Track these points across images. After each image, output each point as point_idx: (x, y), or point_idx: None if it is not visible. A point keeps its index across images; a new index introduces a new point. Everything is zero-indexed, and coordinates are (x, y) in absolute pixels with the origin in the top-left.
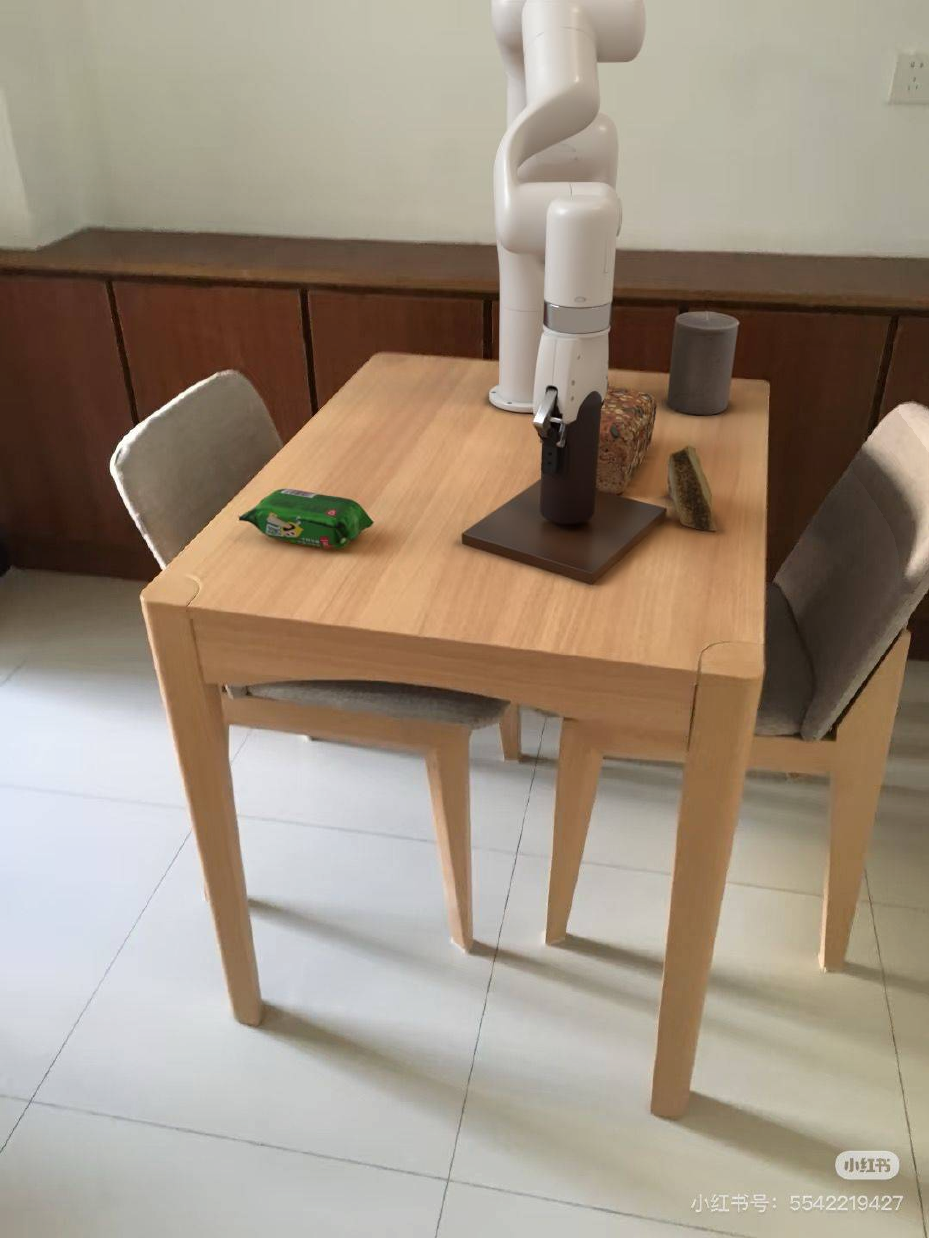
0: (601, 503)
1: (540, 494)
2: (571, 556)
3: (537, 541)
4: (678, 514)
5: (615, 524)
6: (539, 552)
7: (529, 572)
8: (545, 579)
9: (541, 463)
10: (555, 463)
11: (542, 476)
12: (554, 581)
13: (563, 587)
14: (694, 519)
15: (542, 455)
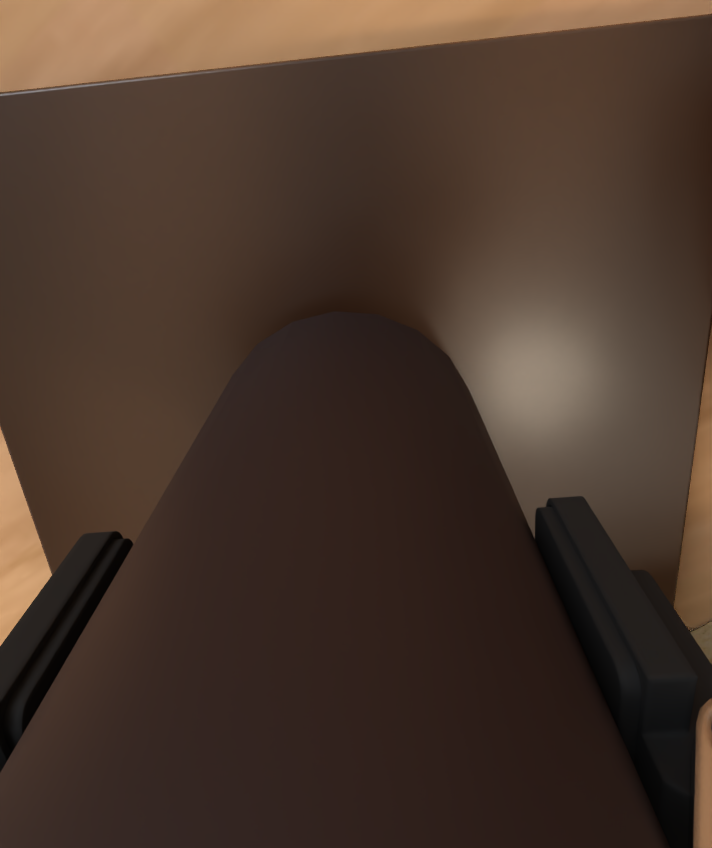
0: (578, 443)
1: (240, 374)
2: None
3: (111, 432)
4: (697, 631)
5: None
6: (53, 486)
7: (4, 472)
8: (15, 534)
9: (60, 568)
10: None
11: (192, 449)
12: (30, 560)
13: (26, 597)
14: None
15: (28, 620)
